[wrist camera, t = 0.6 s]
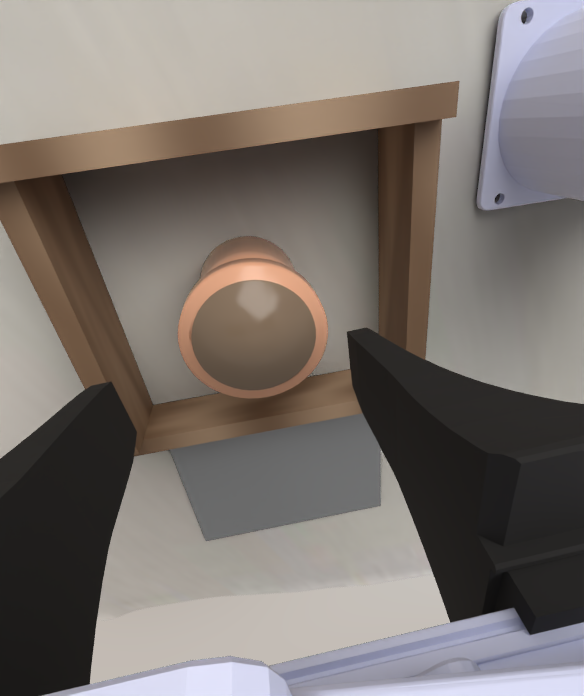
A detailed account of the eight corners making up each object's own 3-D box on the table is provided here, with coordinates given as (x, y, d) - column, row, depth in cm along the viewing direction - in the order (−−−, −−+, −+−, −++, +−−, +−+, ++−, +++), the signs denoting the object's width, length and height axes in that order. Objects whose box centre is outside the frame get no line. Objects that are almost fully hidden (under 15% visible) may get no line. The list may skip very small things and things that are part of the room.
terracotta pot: (296, 219, 19) (322, 254, 13) (308, 324, 22) (333, 386, 16) (178, 238, 18) (157, 282, 13) (206, 341, 21) (198, 411, 16)
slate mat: (379, 407, 25) (380, 409, 25) (379, 503, 31) (380, 505, 30) (169, 446, 25) (169, 449, 24) (206, 538, 30) (206, 541, 30)
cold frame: (400, 93, 17) (459, 80, 12) (394, 374, 24) (429, 427, 20) (24, 145, 16) (-55, 152, 11) (141, 420, 23) (121, 486, 19)
